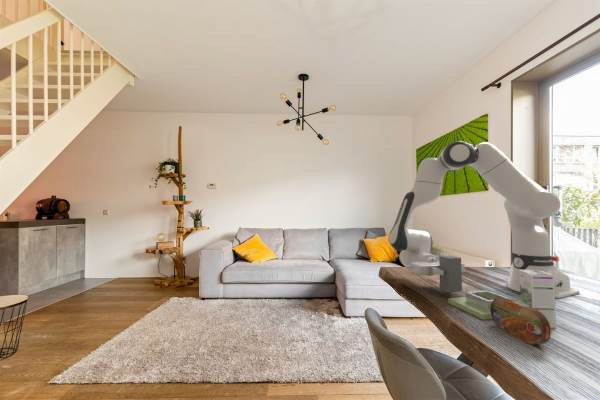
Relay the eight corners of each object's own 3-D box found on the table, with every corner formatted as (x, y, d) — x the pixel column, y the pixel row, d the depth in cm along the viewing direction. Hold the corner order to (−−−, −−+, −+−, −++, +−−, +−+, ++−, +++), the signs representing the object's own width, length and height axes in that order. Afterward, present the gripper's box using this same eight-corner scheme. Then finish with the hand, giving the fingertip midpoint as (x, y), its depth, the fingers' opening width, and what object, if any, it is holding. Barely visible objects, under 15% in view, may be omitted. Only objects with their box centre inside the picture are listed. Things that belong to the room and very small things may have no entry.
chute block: (451, 287, 100) (450, 255, 101) (462, 291, 96) (461, 257, 96) (439, 288, 100) (439, 255, 100) (449, 292, 95) (448, 258, 95)
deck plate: (488, 299, 95) (487, 286, 95) (528, 315, 81) (527, 300, 81) (448, 302, 92) (448, 289, 92) (483, 319, 78) (482, 304, 78)
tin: (489, 323, 76) (488, 293, 76) (499, 322, 76) (499, 293, 76) (541, 352, 61) (540, 314, 61) (554, 351, 61) (553, 314, 61)
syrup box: (557, 328, 72) (555, 274, 72) (532, 326, 73) (530, 273, 74) (542, 319, 78) (541, 269, 78) (519, 318, 79) (518, 268, 79)
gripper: (404, 257, 109) (426, 265, 95) (448, 255, 112) (475, 262, 99) (404, 273, 108) (426, 283, 95) (449, 270, 112) (476, 279, 99)
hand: (452, 272), depth 97 cm, fingers closed on chute block, 5 cm apart
